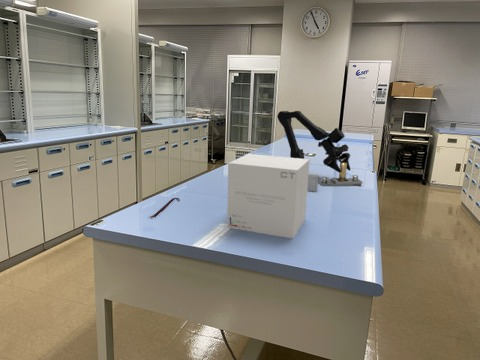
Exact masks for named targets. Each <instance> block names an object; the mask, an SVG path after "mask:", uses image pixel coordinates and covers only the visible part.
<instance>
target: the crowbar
mask: <svg viewBox="0 0 480 360" xmlns="http://www.w3.org/2000/svg"><path fill="white" fill-rule="evenodd" d="M174 199H176V200H177V199H178V200H179V201H178V200H177V201H178V202H180V201H181V200H180V198H179V197H174V198H171V199H170V200H169V201H168V202H166V204H164V205H163V206H162V207H161V208H160V209H158V211H157V212H156V213H155V214H153V215H150V216H148V217H147V218H149V219H150V218H152V217H155V218H157V217H158V216H159V215H160V214H161V213H162V212H163V211H164V210H166V209H167V207H169V206H170V205H171V204H172V203H173V202H174V201H175V200H174ZM173 200H174V201H173ZM172 201H173V202H172ZM171 202H172V203H171ZM170 203H171V204H170ZM169 204H170V205H169ZM160 212H161V213H160ZM159 213H160V214H159ZM158 214H159V215H158ZM157 215H158V216H157ZM156 216H157V217H156Z"/></svg>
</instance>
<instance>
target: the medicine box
mask: <svg viewBox="0 0 480 360" xmlns="http://www.w3.org/2000/svg"><path fill="white" fill-rule="evenodd" d="M318 180H319V173H312V172H309V174H308V187H307V192H315V193H317V191H318V185H319V184H318Z"/></svg>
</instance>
